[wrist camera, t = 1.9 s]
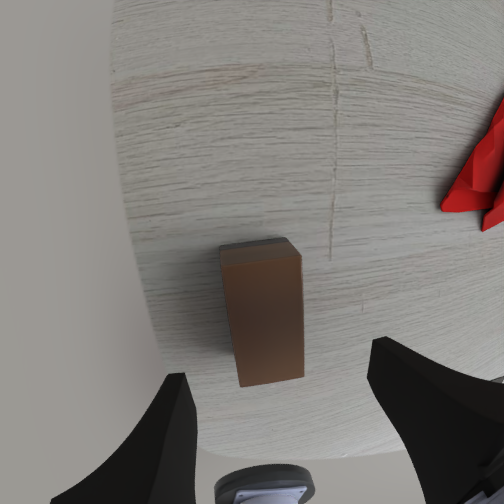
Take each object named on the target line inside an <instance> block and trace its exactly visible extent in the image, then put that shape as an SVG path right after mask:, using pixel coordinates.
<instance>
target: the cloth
mask: <svg viewBox="0 0 504 504" xmlns="http://www.w3.org/2000/svg"><path fill="white" fill-rule="evenodd" d="M440 206H441V211H442V212H465V211H472V210H479V209H488V208H493V209H491V210H490V211H489V212H488V213H486V214H485V215H484V219H483V225H482V230H481V231H482V232H483V231H485V230H487V229H489V228H491V227H493V226H495V225H497V224H499V223H500V222H502V221H504V98H503V100H502V102H501V104H500V106H499V108H498V110H497V112H496V114H495V116H494V118H493V120H492V122H491V124H490V127H489V129H488V132H487V134H486V136H485V137H484V138H483V139H482V140H481V141H480V142H479V143H478V144H477V146H476V147H475V149H474V150H473V152H472V154H471V156H470V157H469V159H468V161H467V162H466V164H465V166H464V167H463V169H462V171H461V172H460V174H459V175H458V177H457V179H456V180H455V182H454V183H453V185H452V187H451V188H450V190H449V191H448V193H447V194H446V196H445V197H444V199H443V201H442V202H441V204H440Z"/></svg>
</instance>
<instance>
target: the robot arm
mask: <svg viewBox="0 0 504 504" xmlns="http://www.w3.org/2000/svg"><path fill="white" fill-rule="evenodd" d="M367 379H368V382H369V384H370V386H371V389H372V391H373V393H374V395H375V397H376V399H377V401H378V402H379V404H380V405H381V407H382V409H383V410H384V412H385V413H386V415H387V416H388V418H389V420H390V421H391V423H392V424H393V426H394V427H395V429H396V431H397V432H398V434H399V435H400V437H401V439H402V441H403V443H404V445H405V447H406V449H407V451H408V454H409V455H410V458H411V460H412V463H413V465H414V468H415V470H416V473H417V476H418V479H419V481H420V484H421V488H422V491H423V494H424V497H425V501H426V504H504V383H497V382H492V381H488V380H483V379H479V378H475V377H472V376H469V375H466V374H463V373H460V372H457V371H455V370H452V369H450V368H448V367H445V366H443V365H441V364H439V363H436V362H434V361H432V360H430V359H428V358H426V357H424V356H422V355H421V354H419V353H417V352H415V351H413V350H411V349H409V348H408V347H406V346H404V345H402V344H400V343H398V342H396V341H395V340H393V339H391V338H389V337H387V336H385V337H381V338H377V339H374V340H373V341H372V348H371V355H370V362H369V368H368V374H367ZM197 434H198V430H197V412H196V407H195V404H194V401H193V398H192V394H191V391H190V388H189V385H188V382H187V379H186V375H185V373H173V374H168V375H167V376H166V378H165V380H164V382H163V384H162V385H161V387H160V390H159V391H158V393H157V395H156V396H155V398H154V399H153V401H152V403H151V404H150V406H149V408H148V409H147V411H146V412H145V414H144V415H143V417H142V418H141V420H140V421H139V422H138V424H137V425H136V427H135V428H134V429H133V431H132V432H131V433H130V435H129V436H128V437H127V438H126V440H125V441H124V442H123V443H122V444H121V445H120V446H119V448H118V449H117V450H116V451H115V452H114V453H113V454H112V455H111V456H110V457H109V458H108V459H107V460H106V461H105V462H104V463H103V464H102V465H101V466H100V467H98V468H97V469H96V470H95V471H94V472H92V473H91V474H90V475H89V476H87V477H86V478H85V479H83V480H82V481H81V482H79V483H78V484H76V485H75V486H73V487H72V488H70V489H68V490H67V491H65V492H63V493H61V494H60V495H58V496H56V497H54V498H52V499H51V502H50V504H196V500H195V465H196V449H197ZM306 489H307V488H306V486H297V487H287V488H275V489H257V490H238V491H237V492H236V495H235V498H234V501H233V504H298V500H299V499H300V498H301V496H302V495H303V494H304V492H305V491H306Z"/></svg>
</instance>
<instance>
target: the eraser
mask: <svg viewBox="0 0 504 504" xmlns="http://www.w3.org/2000/svg"><path fill="white" fill-rule="evenodd" d="M219 250H220V265H221V273H222V280H223V286H224V293H225V300H226V306H227V313H228V319H229V325H230V331H231V338H232V344H233V350H234V356H235V361H236V367H237V373H238V379H239V384H240V387H249V386H255V385H262V384H268V383H274V382H279V381H285V380H290V379H295V378H301V377H304V303H303V273H302V256H301V254H300V253H299V252H298V251H297V249H296V248H295V247H294V246H293V245H292V244H291V243H290V242H289V240H288V239H287V238H286V237H284V238H276V239H268V240H261V241H253V242H245V243H238V244H230V245H222V246H220V247H219Z"/></svg>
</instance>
